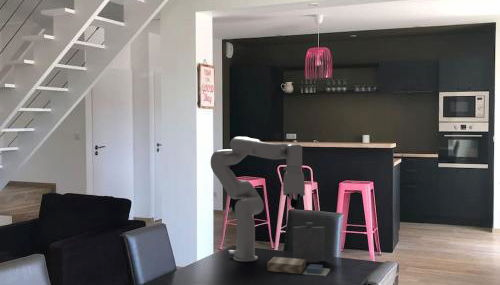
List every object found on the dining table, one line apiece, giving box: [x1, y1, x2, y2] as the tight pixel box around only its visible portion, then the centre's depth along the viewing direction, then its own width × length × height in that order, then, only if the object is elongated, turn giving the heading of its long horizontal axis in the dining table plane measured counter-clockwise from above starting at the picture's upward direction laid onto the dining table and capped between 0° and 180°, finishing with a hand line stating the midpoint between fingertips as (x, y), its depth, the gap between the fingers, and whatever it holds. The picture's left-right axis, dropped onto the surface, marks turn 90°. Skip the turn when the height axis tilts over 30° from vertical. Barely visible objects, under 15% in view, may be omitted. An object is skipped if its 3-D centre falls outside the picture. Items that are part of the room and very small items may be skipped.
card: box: [305, 263, 324, 274], centre depth 255 cm, size 6×9×2 cm, turn 163°
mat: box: [301, 267, 331, 277], centre depth 254 cm, size 11×13×1 cm
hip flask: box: [292, 221, 326, 263], centre depth 274 cm, size 16×4×20 cm, turn 94°
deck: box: [266, 256, 307, 275], centre depth 258 cm, size 16×12×4 cm
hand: (293, 207), depth 262 cm, fingers closed
